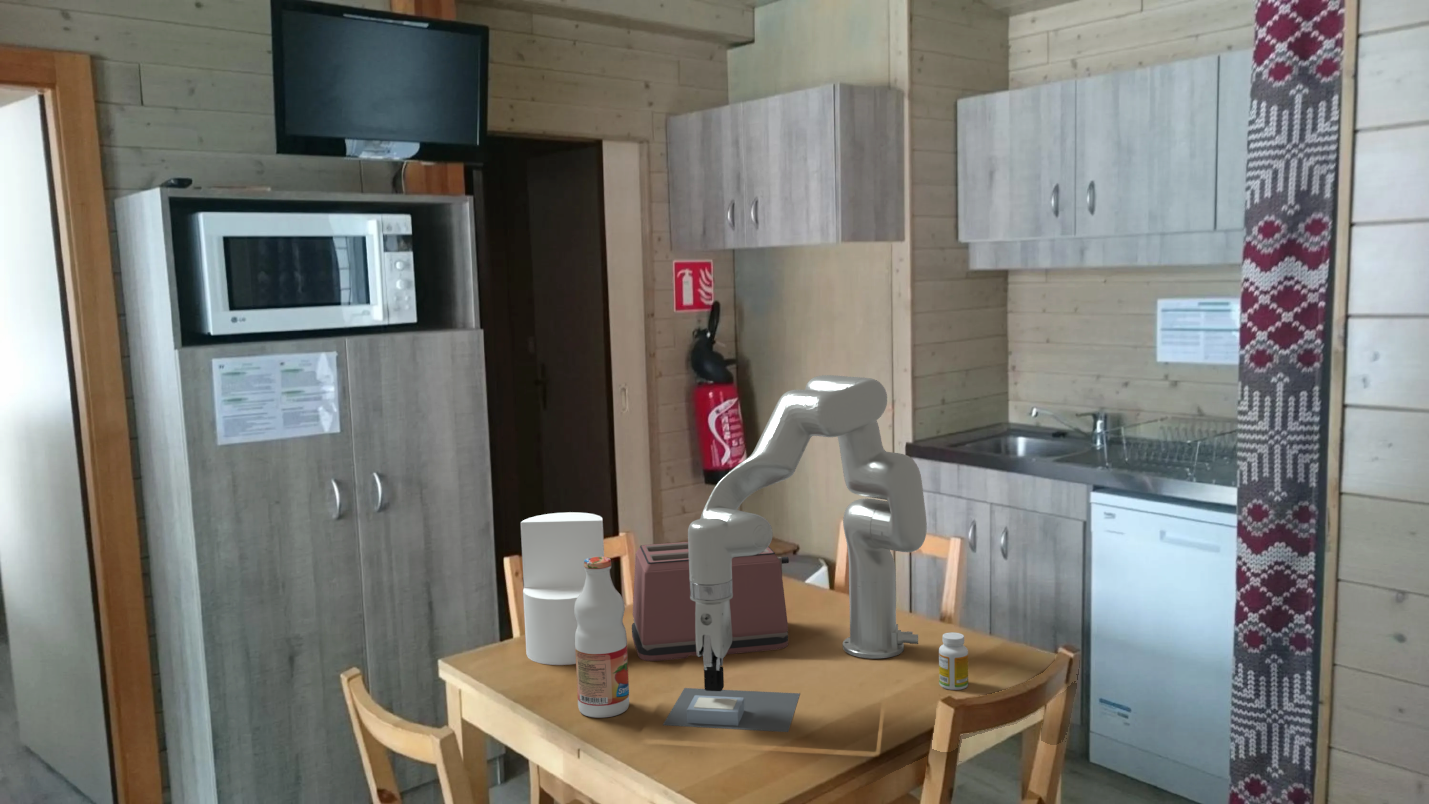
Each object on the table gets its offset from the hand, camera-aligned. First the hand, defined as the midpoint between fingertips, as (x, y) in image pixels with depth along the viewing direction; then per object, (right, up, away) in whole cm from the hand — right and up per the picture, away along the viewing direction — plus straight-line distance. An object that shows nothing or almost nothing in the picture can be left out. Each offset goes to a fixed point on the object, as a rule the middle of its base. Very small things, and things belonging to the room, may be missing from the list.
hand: (714, 689), depth 192 cm
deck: (+1, -3, +2) cm, 3 cm away
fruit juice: (-20, -5, +6) cm, 22 cm away
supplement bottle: (+45, -3, +12) cm, 47 cm away
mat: (+4, -5, +2) cm, 6 cm away
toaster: (0, -1, +41) cm, 41 cm away
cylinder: (-31, -2, +37) cm, 49 cm away
